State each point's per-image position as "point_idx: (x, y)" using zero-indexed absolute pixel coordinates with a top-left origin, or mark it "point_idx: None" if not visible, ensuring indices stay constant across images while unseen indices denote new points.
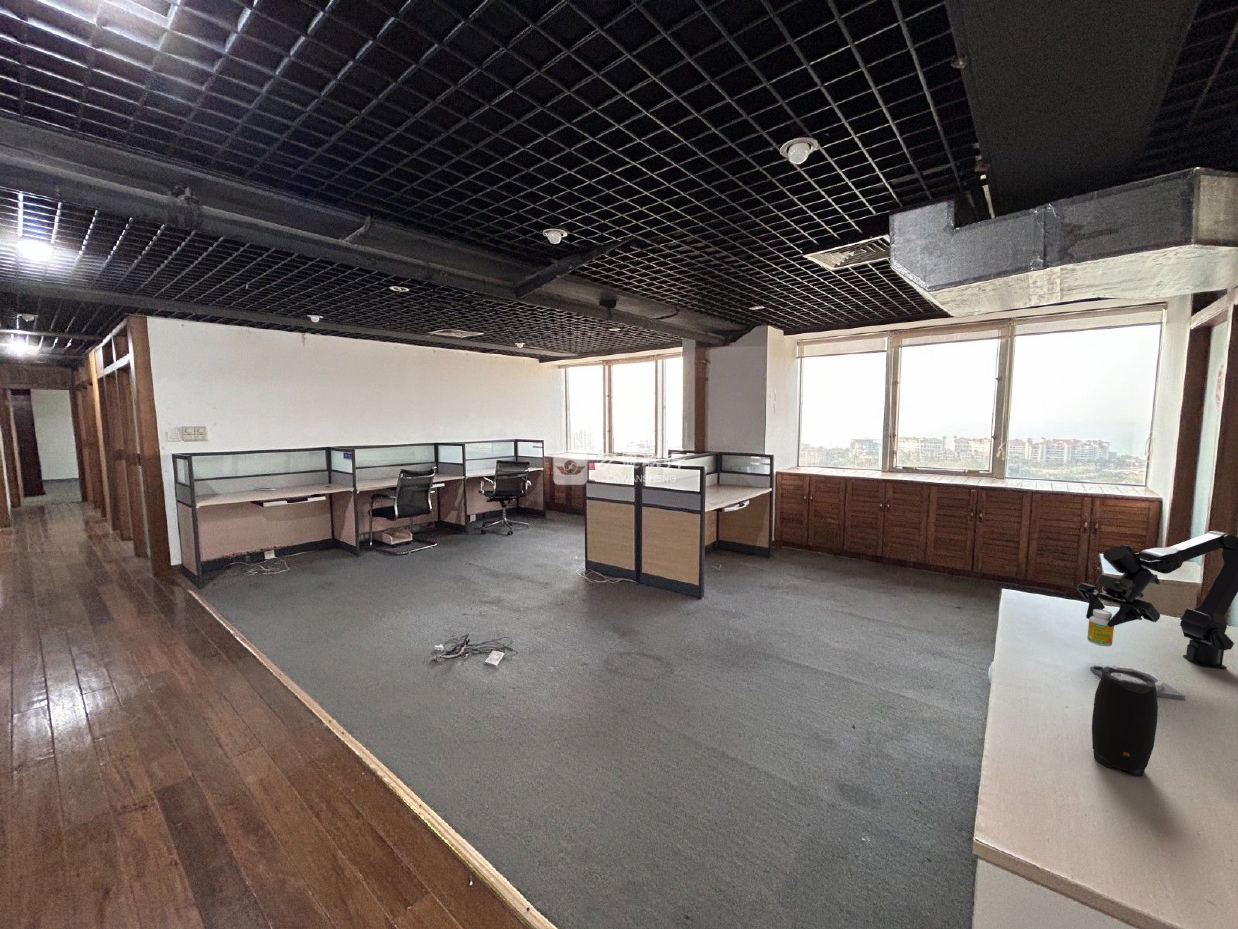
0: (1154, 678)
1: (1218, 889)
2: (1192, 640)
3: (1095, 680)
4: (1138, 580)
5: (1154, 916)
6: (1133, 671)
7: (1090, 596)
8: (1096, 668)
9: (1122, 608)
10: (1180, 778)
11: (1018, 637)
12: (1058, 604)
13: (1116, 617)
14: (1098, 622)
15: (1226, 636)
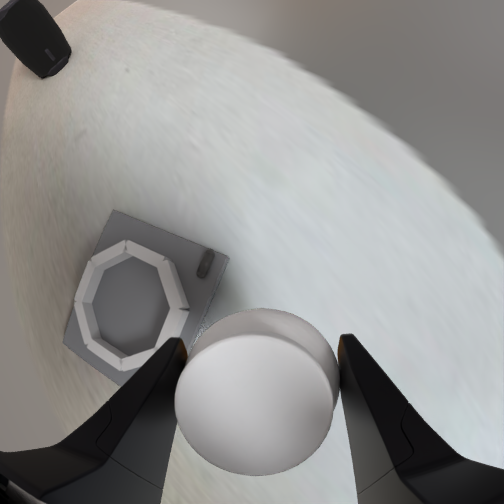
0: (104, 346)
1: (17, 61)
2: None
3: (173, 206)
4: None
5: None
6: (2, 9)
7: (479, 481)
8: (204, 253)
9: (61, 465)
10: (24, 103)
11: (467, 246)
12: None
13: (121, 393)
14: (230, 315)
15: None
